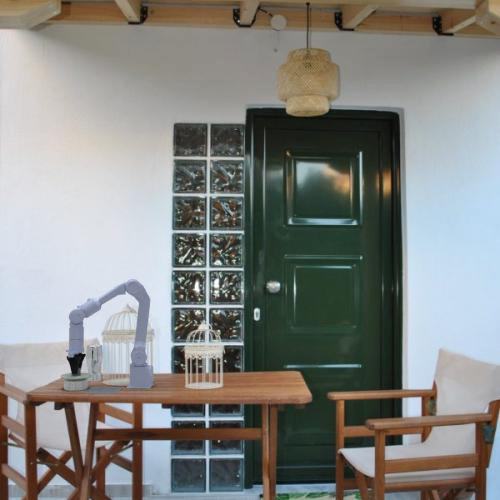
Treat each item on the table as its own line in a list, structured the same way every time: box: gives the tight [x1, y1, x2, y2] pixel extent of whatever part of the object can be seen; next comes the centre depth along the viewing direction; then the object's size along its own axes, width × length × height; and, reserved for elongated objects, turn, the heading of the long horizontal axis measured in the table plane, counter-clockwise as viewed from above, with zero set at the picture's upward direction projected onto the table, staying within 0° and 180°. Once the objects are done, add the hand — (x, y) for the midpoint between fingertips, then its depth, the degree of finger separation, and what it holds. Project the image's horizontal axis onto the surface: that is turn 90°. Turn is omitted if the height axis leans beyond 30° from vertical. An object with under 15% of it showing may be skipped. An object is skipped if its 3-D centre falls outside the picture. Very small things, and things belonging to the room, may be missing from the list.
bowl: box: [63, 378, 89, 392], centre depth 259 cm, size 9×9×4 cm
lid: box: [60, 367, 91, 380], centre depth 259 cm, size 12×12×3 cm
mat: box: [82, 386, 124, 395], centre depth 256 cm, size 13×13×1 cm
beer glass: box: [85, 344, 104, 382], centre depth 278 cm, size 7×7×15 cm
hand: (76, 372), depth 259 cm, fingers closed on lid, 4 cm apart
